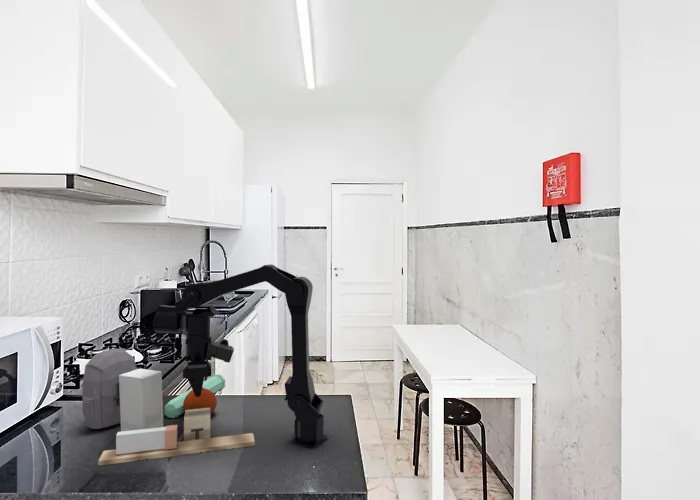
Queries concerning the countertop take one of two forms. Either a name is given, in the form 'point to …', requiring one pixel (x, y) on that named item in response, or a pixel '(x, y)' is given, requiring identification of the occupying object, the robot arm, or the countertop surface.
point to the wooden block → (197, 424)
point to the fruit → (200, 400)
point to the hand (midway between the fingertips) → (198, 396)
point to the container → (176, 404)
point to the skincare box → (141, 399)
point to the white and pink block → (146, 439)
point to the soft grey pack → (104, 387)
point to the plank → (180, 449)
